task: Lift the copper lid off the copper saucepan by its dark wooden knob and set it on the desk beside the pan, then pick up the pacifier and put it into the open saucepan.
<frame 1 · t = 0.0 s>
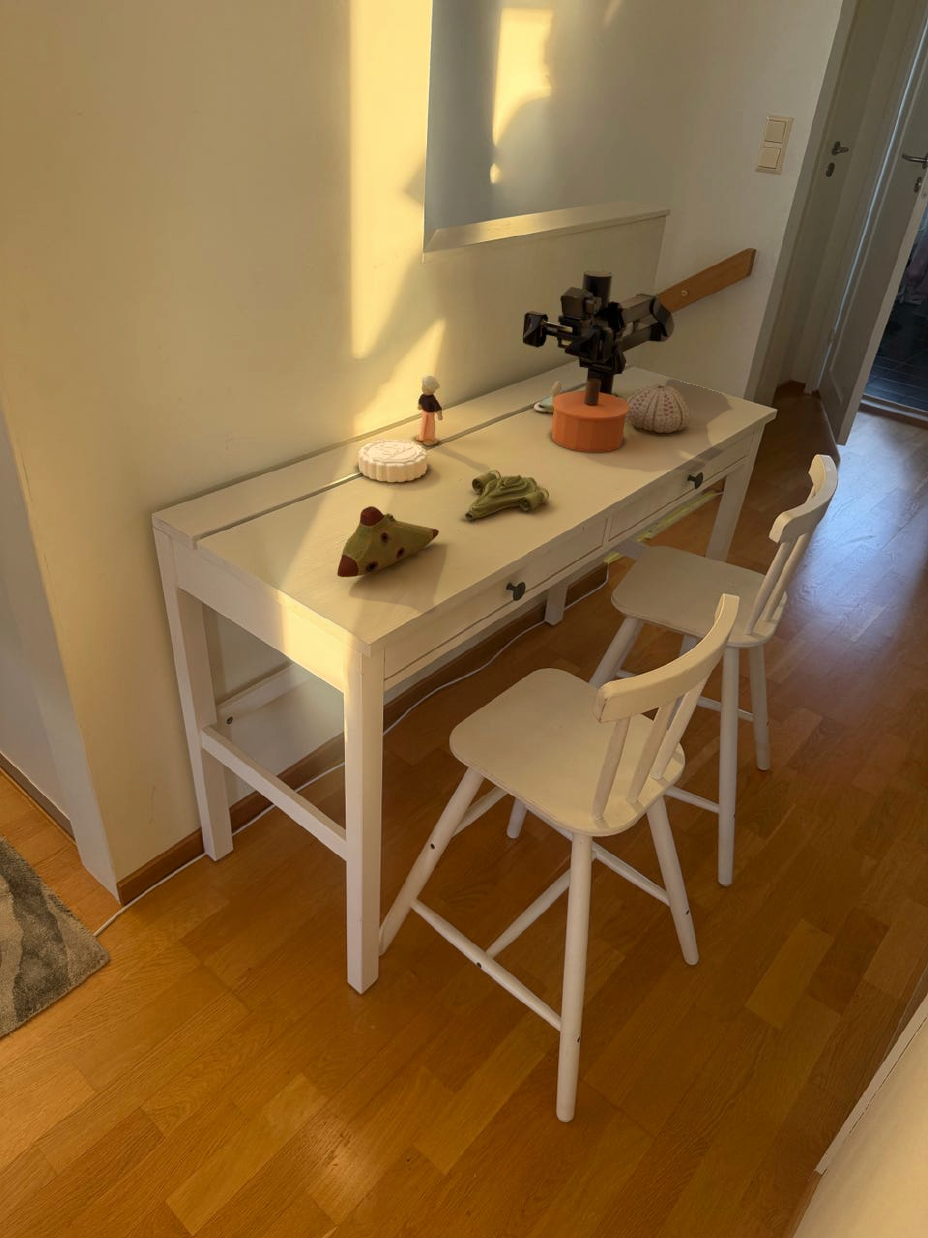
hand: (544, 345, 167), 17 cm above the table, tool horizontal, fingers open, 9 cm apart
spaceship toy: (500, 503, 148), on the table
mooncake: (393, 469, 157), on the table
pot: (586, 438, 173), on the table
lid: (590, 406, 170), point 6 cm above the table, touching pot
pacifier: (548, 410, 186), on the table
ocarina: (391, 563, 129), on the table
grandmother figurine: (427, 442, 168), on the table
sea urchin shell: (654, 425, 181), on the table
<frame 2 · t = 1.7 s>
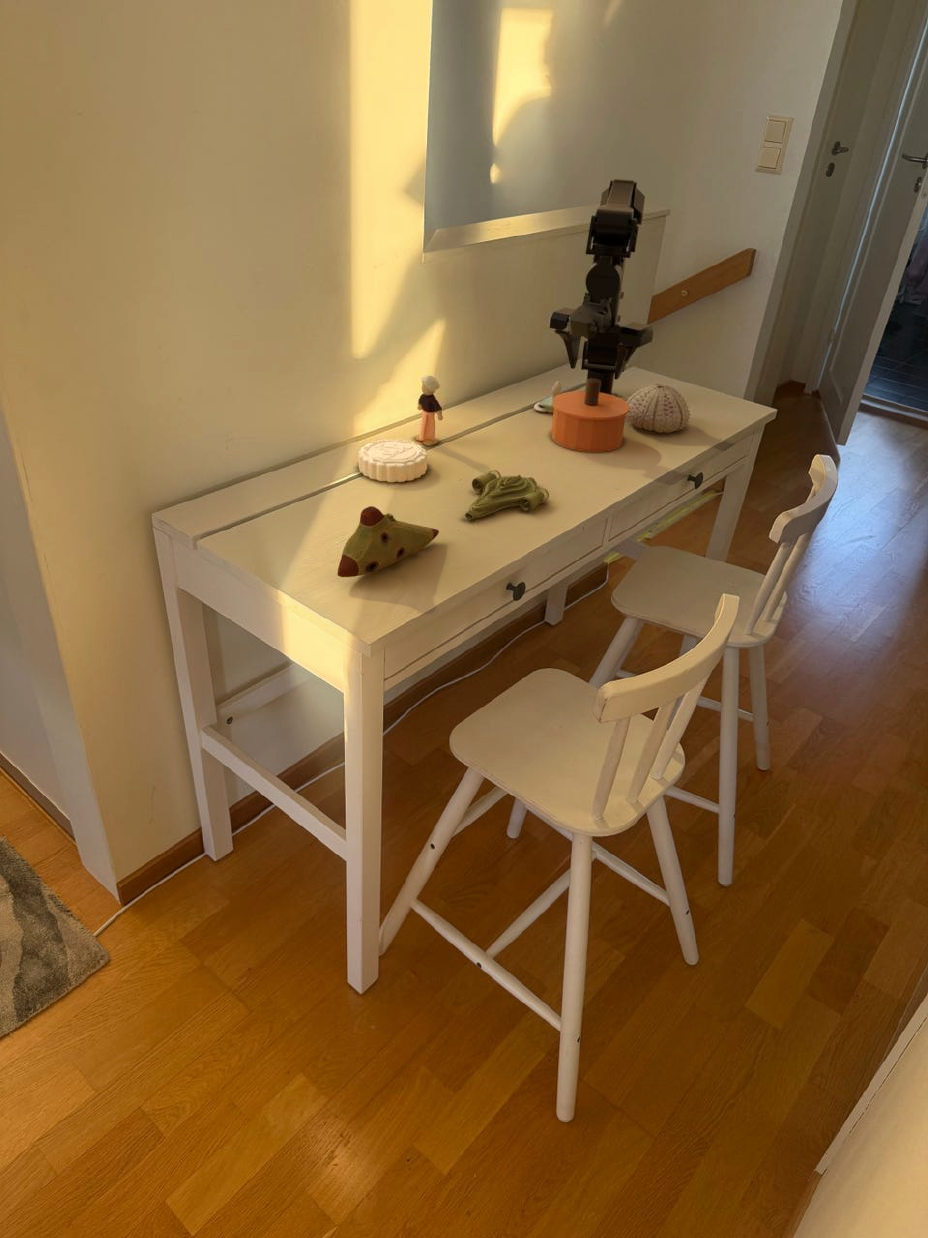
hand: (594, 373, 166), 13 cm above the table, tool pointing down, fingers open, 9 cm apart
nothing on the table moved.
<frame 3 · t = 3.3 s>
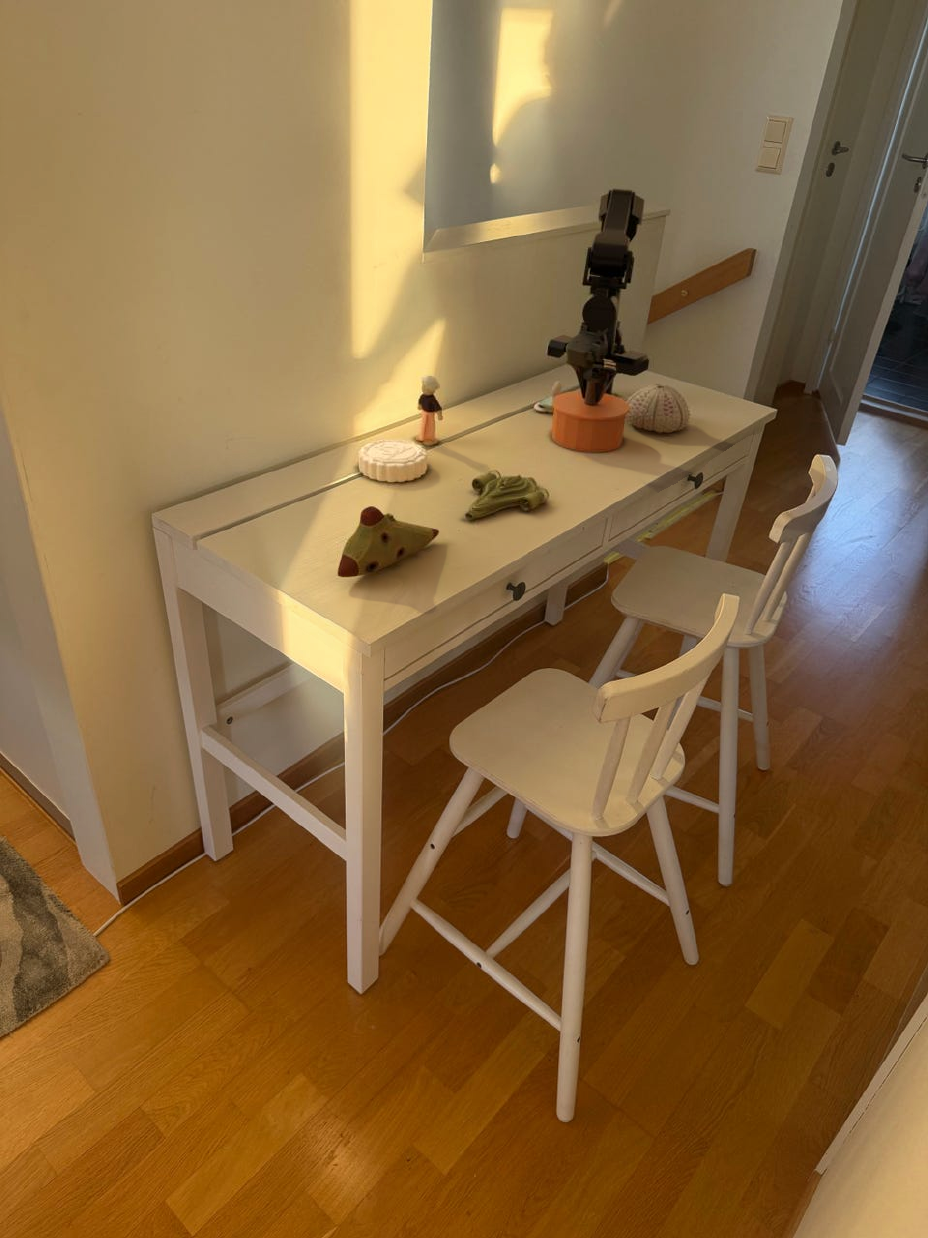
hand: (591, 399, 169), 8 cm above the table, tool pointing down, fingers closed on lid, 2 cm apart
lid: (590, 406, 170), point 6 cm above the table, touching gripper, pot
everything else where it was.
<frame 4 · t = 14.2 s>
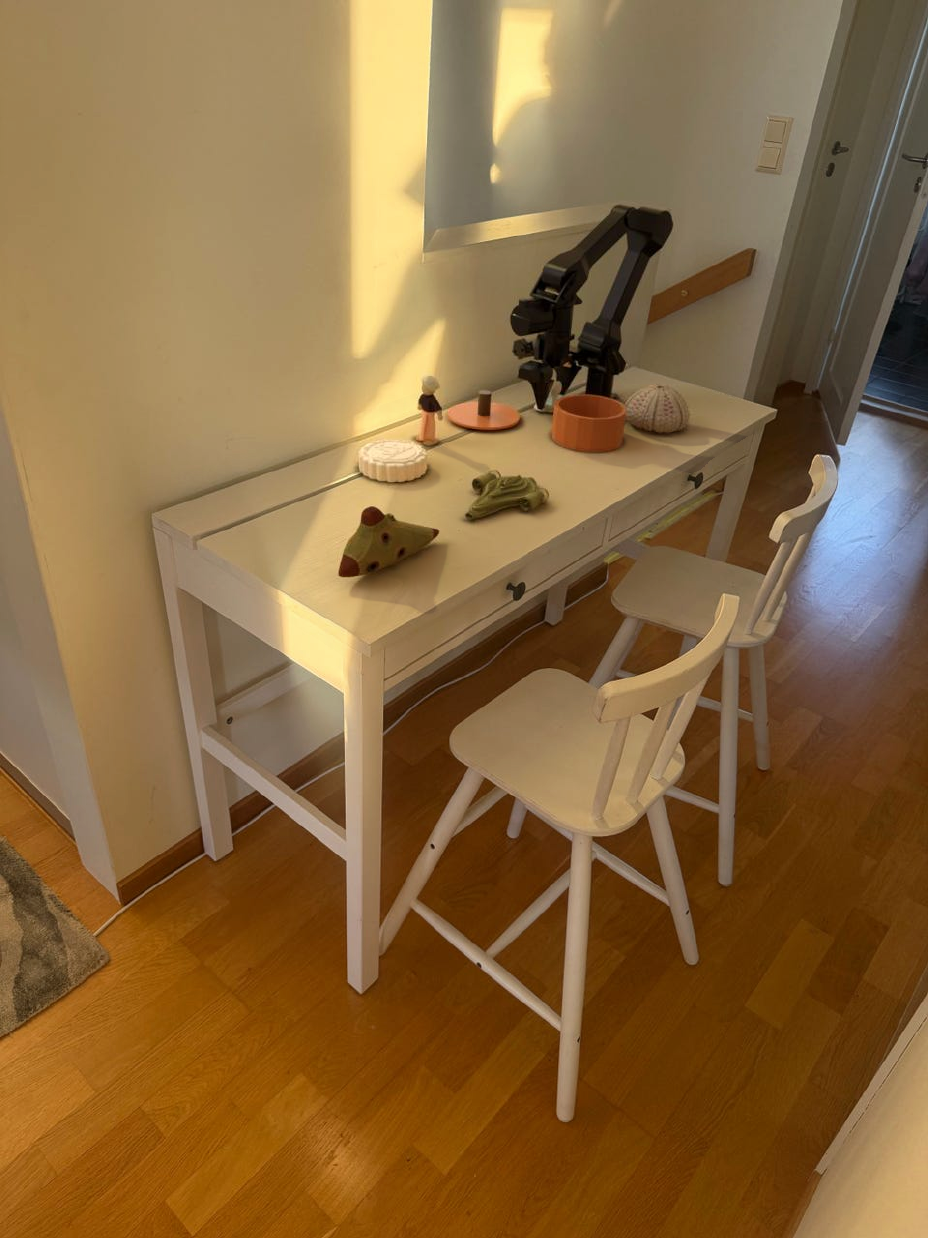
hand: (549, 404, 186), 1 cm above the table, tool pointing down, fingers closed on pacifier, 7 cm apart
lid: (483, 416, 179), point 1 cm above the table
pacifier: (548, 410, 186), on the table, touching gripper
everything else where it was.
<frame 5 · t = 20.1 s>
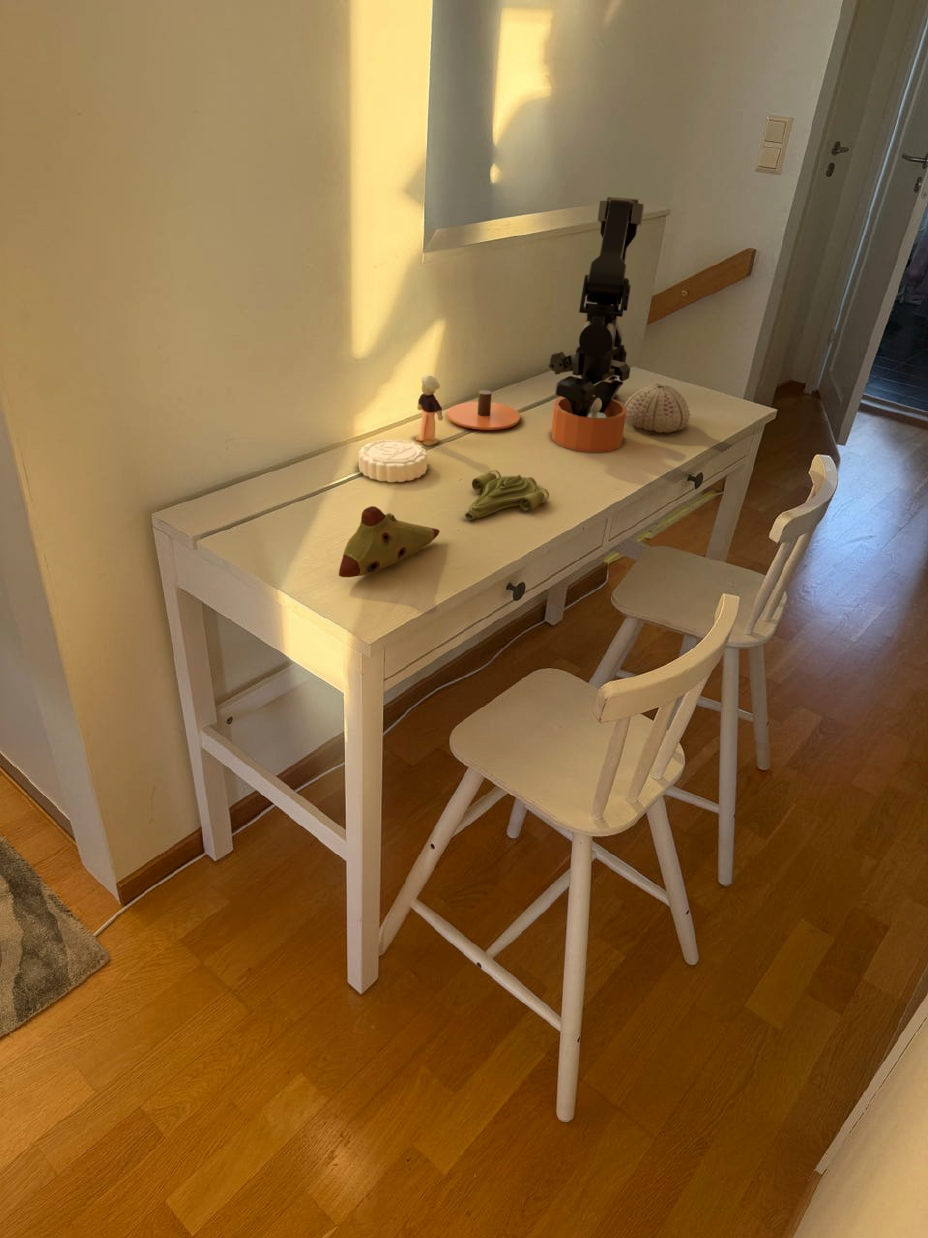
hand: (588, 422, 172), 3 cm above the table, tool pointing down, fingers closed on pacifier, 7 cm apart
pacifier: (587, 429, 172), point 2 cm above the table, touching gripper
everything else where it was.
when the fingers open (5 cm above the table, at t = 38.4 s): pacifier drops 4 cm, resting on pot.
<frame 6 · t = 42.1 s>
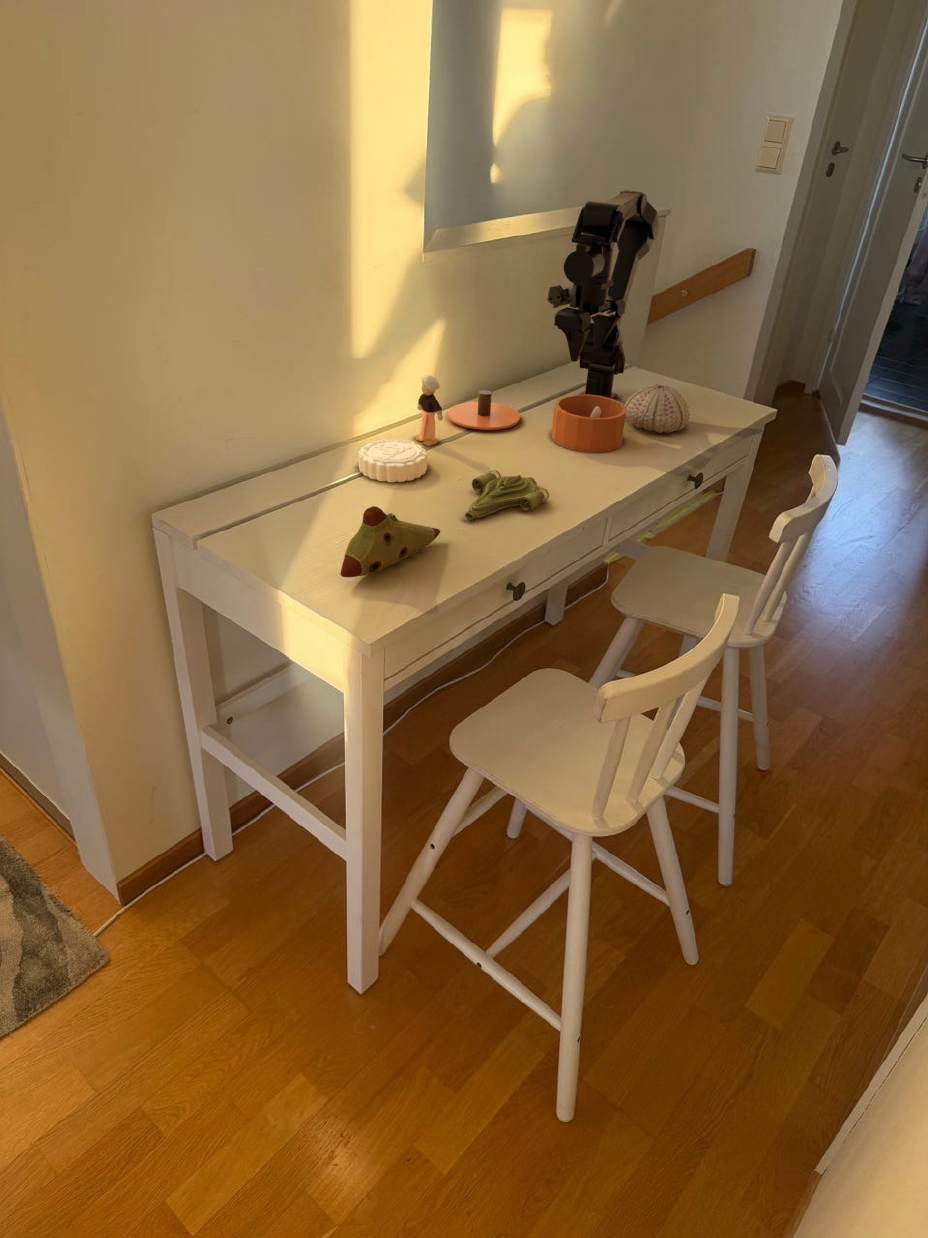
hand: (585, 355, 178), 12 cm above the table, tool pointing down, fingers open, 9 cm apart
pacifier: (586, 437, 173), resting on pot
everything else where it was.
at the end: lid inside the target area (0.1 cm from its centre), point 0.6 cm above the table; pacifier inside the target area in the pot (0.1 cm from its centre), point 0.3 cm above the pot's base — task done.
